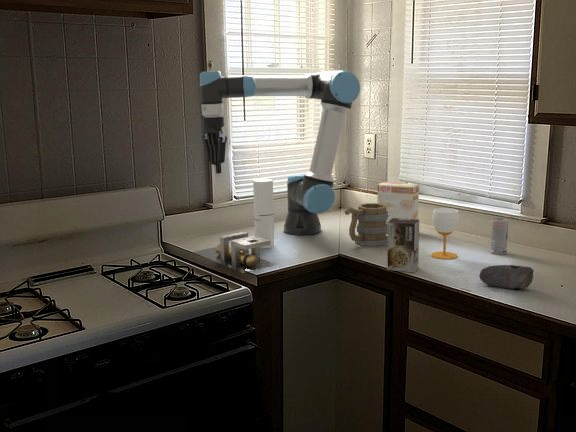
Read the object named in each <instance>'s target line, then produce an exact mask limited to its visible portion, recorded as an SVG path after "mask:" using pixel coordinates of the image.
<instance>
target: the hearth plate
mask: <svg viewBox="0 0 576 432" xmlns="http://www.w3.org/2000/svg"><path fill="white" fill-rule="evenodd" d="M216 247H217V246H215V247H209V248H205V249H200V250H194V251H193V252H195V253H194V254H195V255H199V256H201V257H203V258H206V259H208V260H210V261H213V262H215V263H217V264H220V265H223V266H225V267H227V268H230V269H231V270H234V271H237V272H239V273H242V274H244V273H248V272H247V271H245V269H246V268H247V269H250V270H254V271H258V270H262V269H266V268H270V267H275V266H278V264H277V263H276V262H275V263H274V262H272V261H269V260H267V259H264V258H261V257H260V261H259V262H257V263H256V265H255V266H254V267H249V266H246V265H244V264H242V263H241V266H237V267H235V266H233V265H232V259H229V261H227V262H223V261H221V255H219V254H217V253H216ZM256 269H257V270H256Z"/></svg>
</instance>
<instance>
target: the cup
mask: <svg viewBox="0 0 576 432" xmlns="http://www.w3.org/2000/svg"><path fill="white" fill-rule="evenodd" d="M459 212H460V211H459V210H458V209H456V208H451V207H450V208H449V207H439V208H438V207H437V208H434V209H433V210H432V215H431V216H432V224H433V228H434V229H435V231H436V232H437V233H438V235H441V236H442V237H443V242H442V243H443V244H442V245H443V247H442V251H435V252H432V253H431V254H430V255H431V257H432V258H433V259H439V260H455V259H456V258H458V257H459V255H458V254H456V253H455V252H451V251H447V249H446V248H447V245H446V244H447V237H448V236H450V235H452V234H453V233H454V232H455V231H456V229H457V228H458V224H459V220H460V214H459Z"/></svg>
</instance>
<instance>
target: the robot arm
mask: <svg viewBox="0 0 576 432" xmlns="http://www.w3.org/2000/svg"><path fill="white" fill-rule="evenodd" d="M199 89H200V91H199V92H200V102H201V108H200V109H201V112H202V113H201V114H202V116H203V117H202V127H203V128H204V129H205V134H203V135H202V136H201V138H202V140H203V143H204V149H205V153H206V158H207V159H206V160H207V162H208V163H210V165H211V169H212V170H211V171H212V172H211V173H212V182H213V183H215V184H217V183H222V180H223V179H222V164H223V163H225V160H226V147H227V146H226V144H227V141H228V136H226V135H225V136H224V134H223V133H224V132H223V130H222V129H223V127H225V119H224V118H225V117H224V116H223V115H224V113H225V112H224V102H223V99H232V98H233V99H234V98H237V99H238V98H248V97H249V98H250V97H305V99H308V100H310V99H313V100H320V105H321V107H322V108H323V109H322V113H321V117H320V121H319V125H318V132H317V135H316V140H315V144H314V148H313V154H312V157H311V162H310V167H309V171H307V172H306V173H304V174H296V175H289V176H288V177H287V179H286V180H287V183H286V186H287V187H286V188H287V189H286V190H287V213H286V218H285V222H284V224H283V233H286V234H290V235H295V236H298V235H299V236H300V235H301V236H305V235H314V234H318V233H320V232H321V231H322V224H321V221H320V217H319V214H320V215H321V214H323V213H326V212H328V211H329V210H330V209H331V208H332V207H333V206H334V203H335V200H336V194H335V192H334V189H333V187H334V185H335V184H334V183H335V180H334V178H333V176H332V174H333V169H334V165H335V161H336V157H337V152H338V148H339V143H340V139H341V134H342V131H343V128H344V127H343V125H344V122H345V118H346V113H348V112H350V111H352V109H351V108H352V105H353V102H354V101H355V100H357V99H358V97H359V95H360V92H361V84H360V81H359V79H358V77H357V76H356V75H355V74H354V73H353V72H351V71H348V70H343V69H339V70H327V71H321V72H313V73H308V72H307V73H306V74H305V75H246V74H244V75H222V72H221V71H220V70H217V71H216V70H211V71H202V72H200V73H199Z"/></svg>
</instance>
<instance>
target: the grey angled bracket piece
mask: <svg viewBox="0 0 576 432" xmlns="http://www.w3.org/2000/svg"><path fill="white" fill-rule="evenodd" d="M246 237H249V232H246V231H240V232H236V233H232V234H225V235H221V236H219V244H220V254H221V261H223V262H227V261H229V246H230V244H229V242H231V240H236V239H241V238H246ZM240 250H241V251H244V252H246V253H249V254H250V252H249V251H250V249H247V250H244V249H241V248H240Z"/></svg>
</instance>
